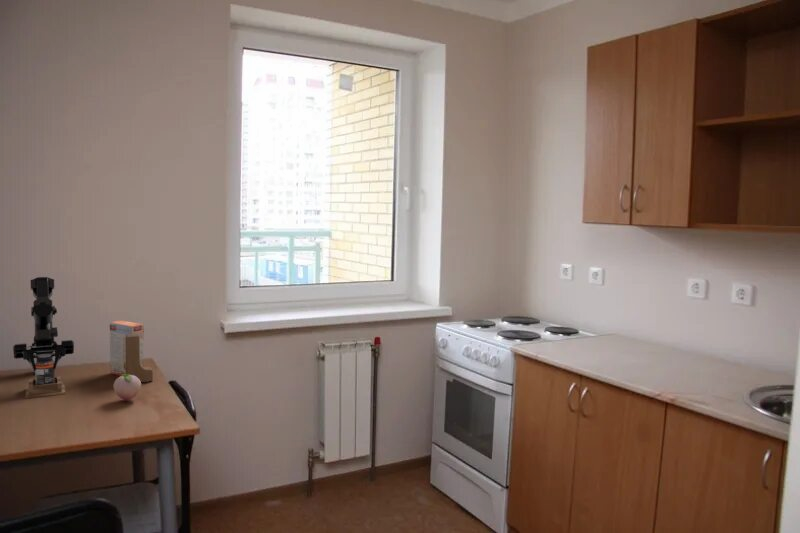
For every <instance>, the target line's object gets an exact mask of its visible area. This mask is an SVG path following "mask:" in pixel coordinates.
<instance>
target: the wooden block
mask: <svg viewBox="0 0 800 533" xmlns="http://www.w3.org/2000/svg"><path fill="white" fill-rule="evenodd" d="M126 372H127V374H129V375H134V376H136V377H137V378H138V379H139V380H140V381H141V382H142V383H150V382H149V381H152V382H153V381H154V380H153V379H154V377H153V376H154V375H153V374H154V372H153V368H152V367H150V366H144V367H143V366H142V365H141V364H140V343H139V335H138V334H131V335H126Z"/></svg>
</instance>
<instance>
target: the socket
mask: <svg viewBox="0 0 800 533" xmlns="http://www.w3.org/2000/svg"><path fill="white" fill-rule="evenodd" d="M35 380H36V378H33V379H30V378H29V379H28V387H27V386H26V387H25V399H29V398H30V397H32V398H39V397H41V398H42V397H46V396H47V397H49V396H56V395H57V396H58V395H64V394H66V388H65V382H64V383H63V382H62V376H55V383H52V384H42V385H36V381H35Z"/></svg>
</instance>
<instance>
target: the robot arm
mask: <svg viewBox="0 0 800 533" xmlns="http://www.w3.org/2000/svg"><path fill="white" fill-rule="evenodd" d="M29 282H30V283H29V284H30V290H31V291H32V296H33V297H34V298H35V300H34V301H33V302H32V303H33V306H31V310H30V314H31V317H33V319H34V320H33V321H34V336H33V342H32V343H31V345H27V343H26V342H25V343H15V344H14V345H13V346H12V347H13V348H12V349H13V350H12V351H13V358H14V359H23V360H25V361H27V362H28V363H29V364H30V366H31V368H32V370H33V374H34V375H35V363H36V362H37V361H38V356H39V355H44V354H49V355H51V360H52V361H54V369H55V371H56V370H57V367H58V364H59V362H60V361H61V360H62V357H65V356H66V355H72V354H74V351H75V350H74V349H75V345H74V344H75V343H74V340H73V339H67V340H61V344H58V343H57V341H56V340H55V338H57V337H58V335H59V334H58V327H54V325H53V318H54V316H55V315H56V314H57V313H58V309H57V308H56V307H55V305H53V300H52V299H51V297H52V295H53V290H55V279H54V278H51V277H48V276H37V277H35V278H33V279H32V278H31V279H30V281H29ZM35 359H36V360H35Z"/></svg>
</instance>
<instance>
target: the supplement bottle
mask: <svg viewBox="0 0 800 533" xmlns="http://www.w3.org/2000/svg"><path fill="white" fill-rule="evenodd" d="M54 362H55V360H53V361H52V360H51V355H49V354H44V355H39V356H38V361H37V362H36V361H35V371H34V372H35V374H34V375H35V379H36V380H35V381H36V385H42V384H52V383H55V377H56V370H55V369H54Z"/></svg>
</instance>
